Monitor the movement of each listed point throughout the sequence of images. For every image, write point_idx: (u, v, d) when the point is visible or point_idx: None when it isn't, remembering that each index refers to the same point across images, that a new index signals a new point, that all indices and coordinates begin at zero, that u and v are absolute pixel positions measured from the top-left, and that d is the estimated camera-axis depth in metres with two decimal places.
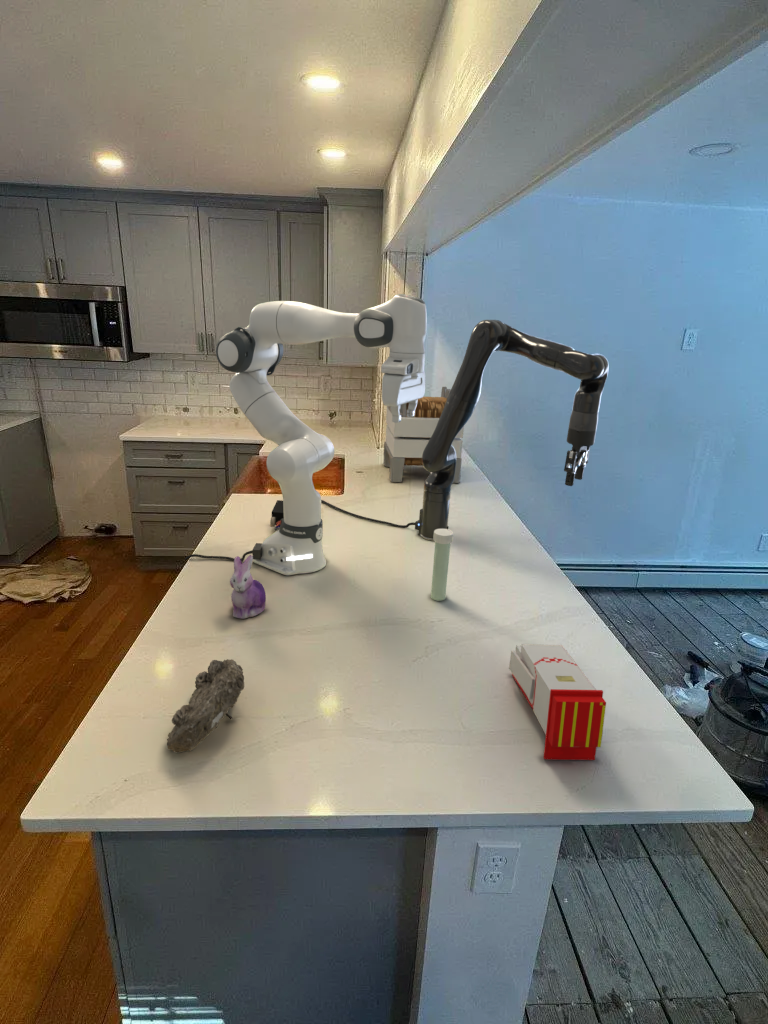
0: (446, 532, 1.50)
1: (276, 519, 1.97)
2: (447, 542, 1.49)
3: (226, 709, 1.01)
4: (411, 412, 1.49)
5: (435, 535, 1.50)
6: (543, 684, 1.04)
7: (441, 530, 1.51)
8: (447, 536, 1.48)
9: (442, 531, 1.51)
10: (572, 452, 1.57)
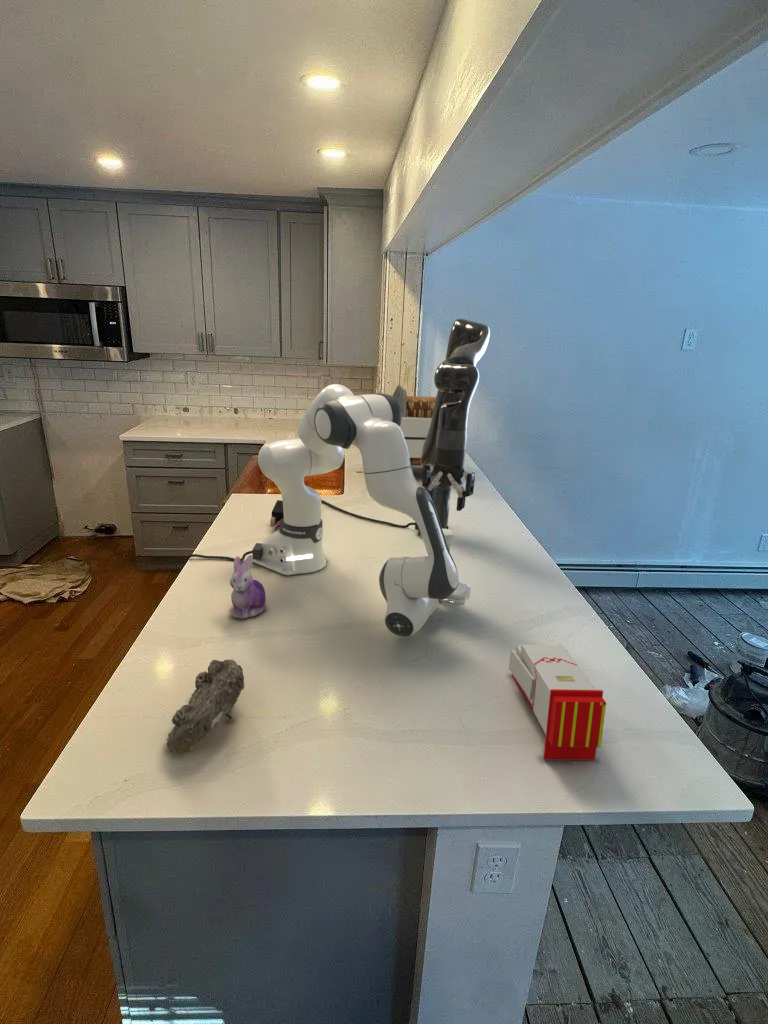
0: (446, 532, 1.50)
1: (276, 519, 1.97)
2: (447, 542, 1.49)
3: (226, 709, 1.01)
4: None
5: None
6: (543, 684, 1.04)
7: None
8: (447, 536, 1.48)
9: None
10: (425, 465, 1.48)
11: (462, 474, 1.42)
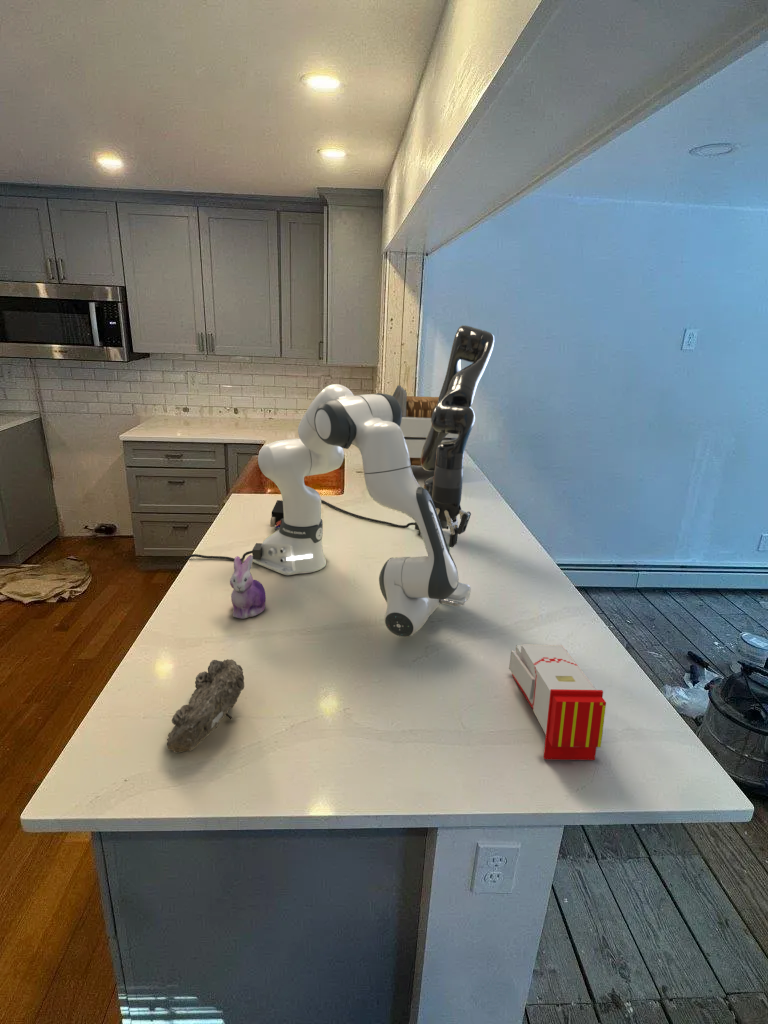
0: (446, 532, 1.50)
1: (276, 519, 1.97)
2: (447, 542, 1.49)
3: (226, 709, 1.01)
4: None
5: None
6: (543, 684, 1.04)
7: None
8: (447, 536, 1.48)
9: None
10: None
11: (459, 511, 1.45)
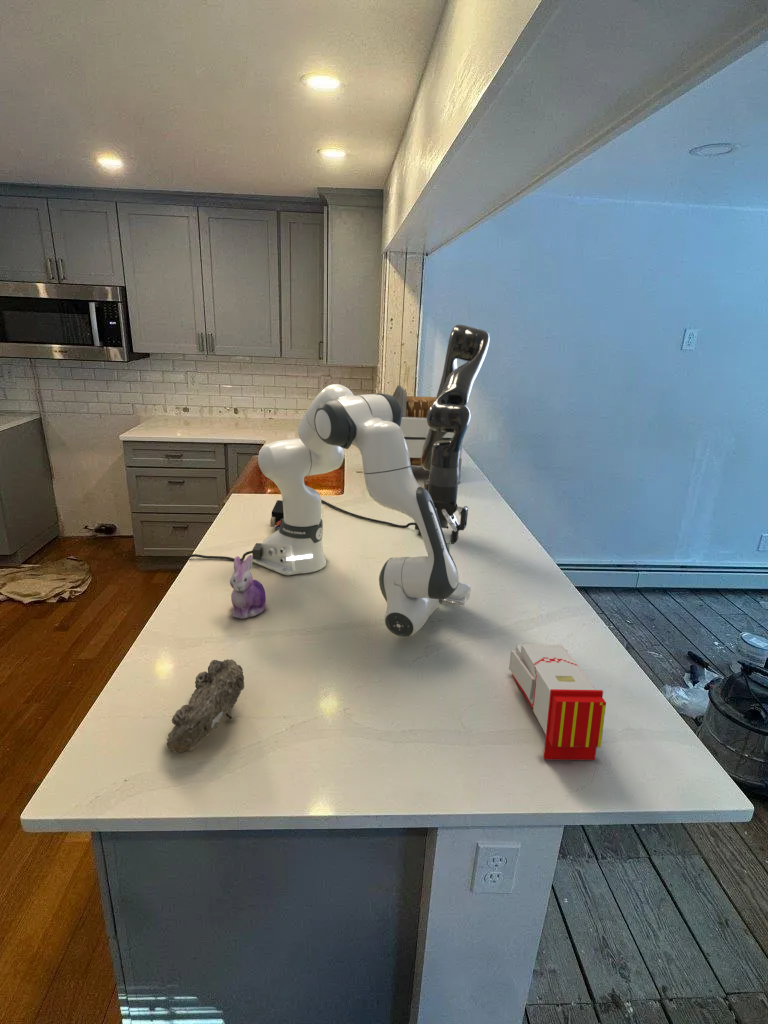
0: (444, 530, 1.51)
1: (276, 519, 1.97)
2: None
3: (226, 709, 1.01)
4: None
5: (448, 536, 1.48)
6: (543, 684, 1.04)
7: None
8: None
9: None
10: None
11: (456, 509, 1.46)
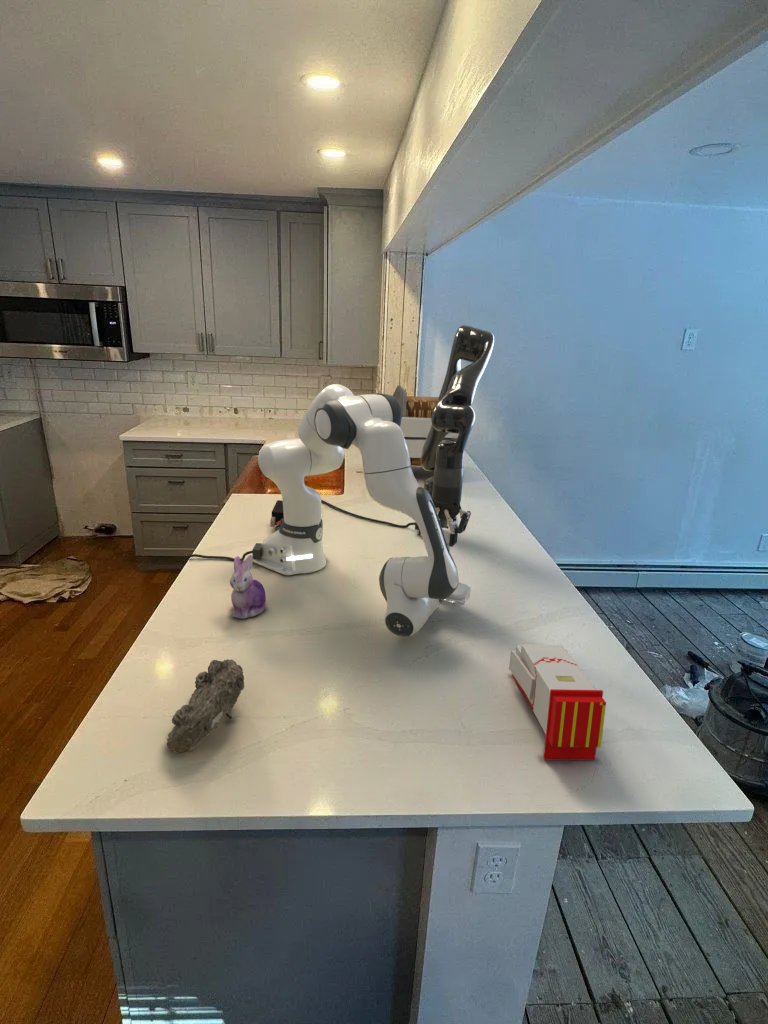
0: (444, 530, 1.51)
1: (276, 519, 1.97)
2: None
3: (226, 709, 1.01)
4: None
5: (448, 536, 1.48)
6: (543, 684, 1.04)
7: None
8: None
9: None
10: None
11: (459, 510, 1.45)
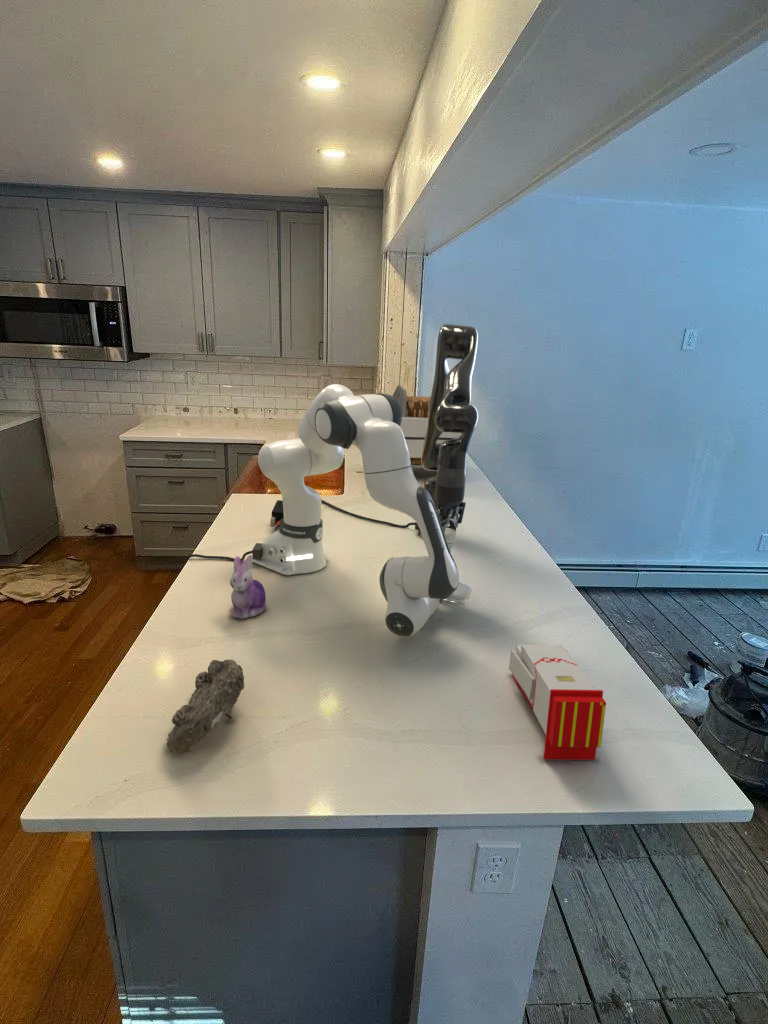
0: None
1: (276, 519, 1.97)
2: None
3: (226, 709, 1.01)
4: None
5: None
6: (543, 684, 1.04)
7: (448, 532, 1.49)
8: None
9: (447, 531, 1.50)
10: None
11: None
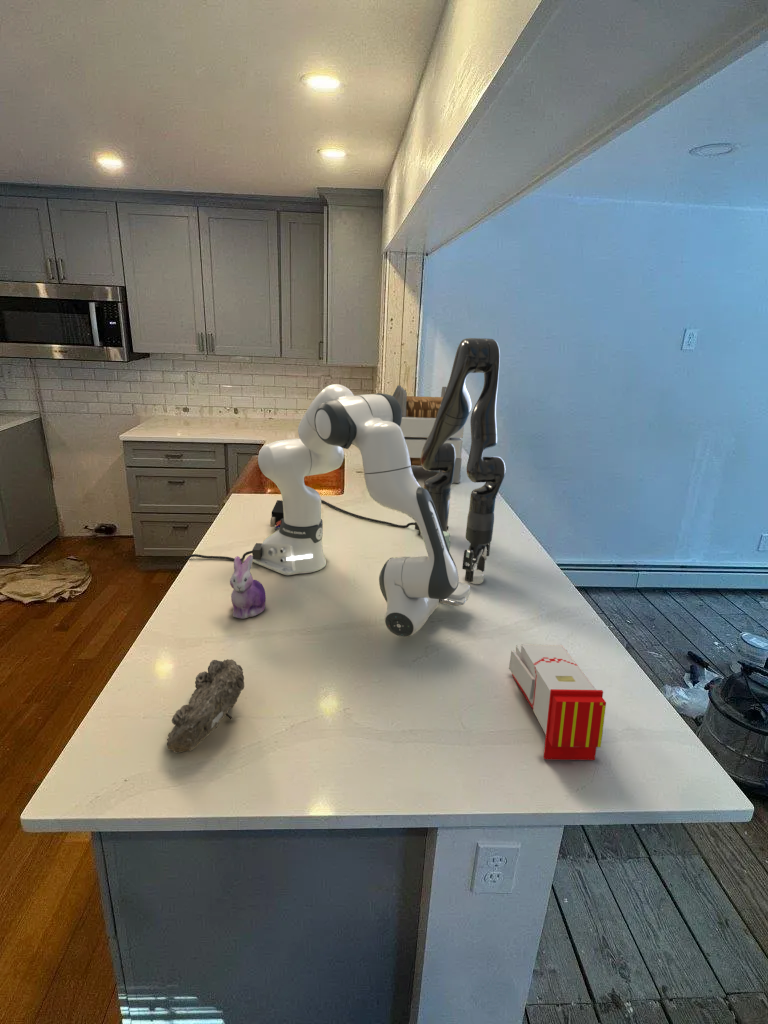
0: None
1: (276, 519, 1.97)
2: None
3: (226, 709, 1.01)
4: None
5: None
6: (543, 684, 1.04)
7: (477, 574, 1.66)
8: None
9: (476, 573, 1.67)
10: (469, 552, 1.59)
11: None
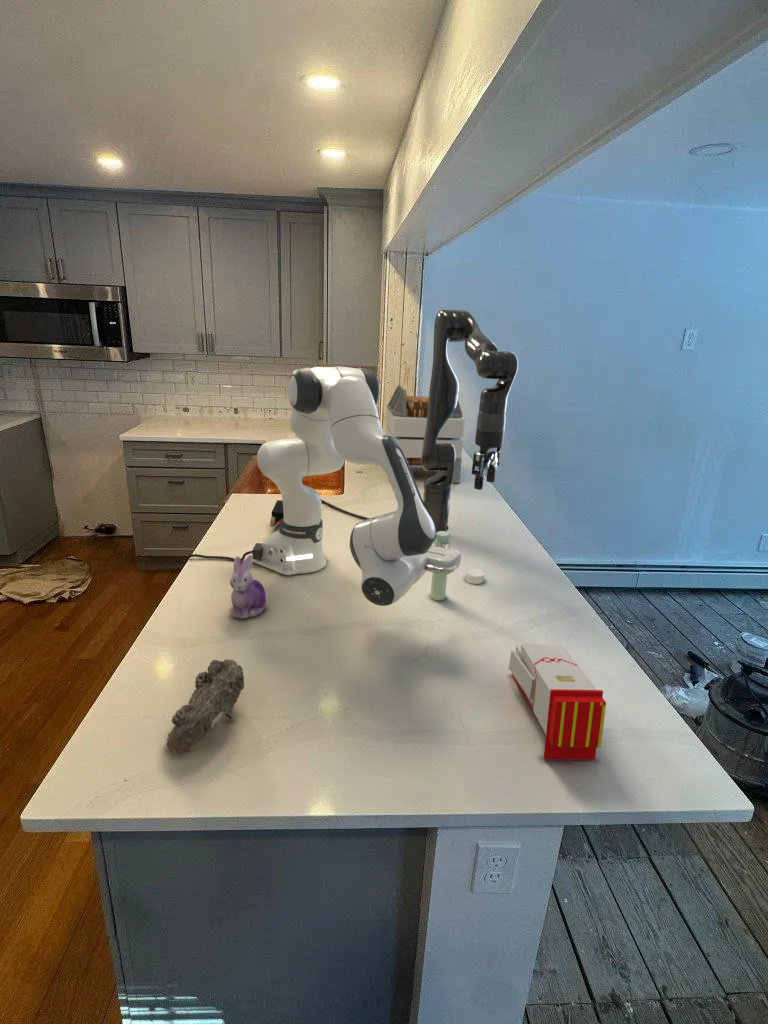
0: (472, 572, 1.67)
1: (276, 519, 1.97)
2: None
3: (226, 709, 1.01)
4: None
5: None
6: (543, 684, 1.04)
7: (477, 574, 1.66)
8: None
9: (476, 573, 1.67)
10: (479, 454, 1.49)
11: None
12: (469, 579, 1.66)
